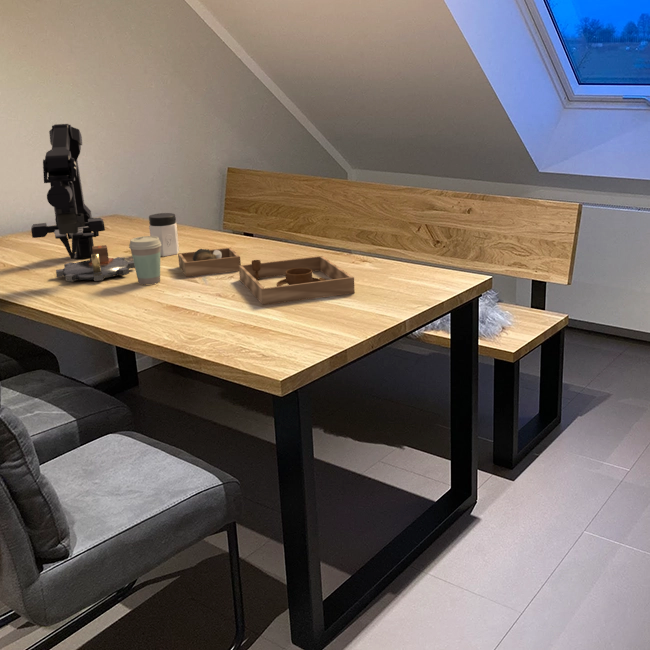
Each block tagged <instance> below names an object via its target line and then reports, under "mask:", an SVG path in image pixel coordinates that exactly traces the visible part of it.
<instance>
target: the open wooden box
mask: <svg viewBox="0 0 650 650" xmlns="http://www.w3.org/2000/svg"><path fill="white" fill-rule="evenodd" d="M214 250H219V251H220V252H221V254H222V258H218V259H210V260H201V261H193V259H192V258H193V255H194V253H195V252H196V251H189V252H178V254H177V255H178V258H177V259H178V267H179V269H180V271H181V272H182V273H183V275H184V276H185V277H186V278H188V277H198V276H206V274H207V275H215V273H216V274H221V273H231V272H239V266H240V265H242V263H241V256H240V255H239V254H238V253H237V251H235V250H234V249H233V248H232V247H226V248H225V247H224V248H216V249H209V251H210V252H211V254H213V252H214Z"/></svg>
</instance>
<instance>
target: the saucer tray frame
mask: <svg viewBox="0 0 650 650" xmlns="http://www.w3.org/2000/svg"><path fill="white" fill-rule="evenodd" d="M293 268H308V269H311V270H312V273H313V272H321V273H323V274H325V275H326V277H327V276H328V277H329V278H330V279H326V280H325V281H317V282H309V283H301V284H293V285H288V284H284V285H282V286H277V285H276V286H272V287H271V286H270V287H265V286H264V285H262V284H261V282H259V280H256V278H255V275H256V273H255V272H256V271H253V269H252V263H249V264H241V265H240V266H239V271H238V272H239V273H238V274H239V281H240V282H241V283H242V284H243V285H244V286H245V287H246V288H247V289H248V290H249V291H250V293H251V294H252V295H253V296H254V297H255V298H256V299H257V300H258V301H259V302H260V303H261V304H262V306H267V305H275V304H281V303H290V302H298V301H304V300H313V299H319V298H328V297H336V296H341V295H342V296H343V295H350V294H351V295H352V294H355V290H356V289H355V277H354V276H352V275H351V274H349V273H348V272H346V271H345V270H344V269H342V268H341V267H339V266H337V265H336V264H334V263H333V262H332V261H330V260H329V259H327V258H326V257H324V256H323V255H318V256H317V255H316V256H309V257H302V258H301V257H300V258H293V259H283V260H276V261H275V260H273V261H267V262H261V269H260V270H259V271H258V275H259V278H258V279H267V278H271V277H272V278H273V277H282V276H286V274H285V272H286V271H287V270H289V269H293Z"/></svg>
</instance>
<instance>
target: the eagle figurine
mask: <svg viewBox="0 0 650 650" xmlns="http://www.w3.org/2000/svg"><path fill="white" fill-rule="evenodd" d="M209 250H210V249H206V248H205V249H204V248H199V249H197V250H196V251H194V252H195V253H194V255H193V258H192V259H193V261H201V260H210V259H218V258H222V254H221V252H220V251H219V250H214V249H213V250H214V252H213V254H211V252H210V251H209Z"/></svg>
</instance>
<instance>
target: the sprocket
mask: <svg viewBox="0 0 650 650" xmlns="http://www.w3.org/2000/svg"><path fill="white" fill-rule="evenodd" d="M108 258H109V261H107V262H100V260H99V254H91V257H90V258H89V260H82V261H78V262H70V261H69V262H67V263H65V264H64V263H63V266H64V267H63V268H61V269H56V270H55V274H56V277H57V278H58V277H64V278H65V281H67V282H75V281H81V280H82V281H84V280H85V281H87V280H89V281H90V280H94V282H98V281H104V279H106V278H111V277H117V276H126V275H128V274H130V269H135V266H134V262H133V260H132V261H131V260H130V261H126V260H125V257H119V256H117V257H108Z"/></svg>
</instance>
